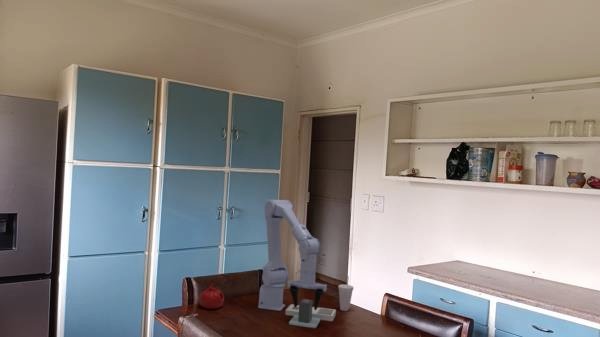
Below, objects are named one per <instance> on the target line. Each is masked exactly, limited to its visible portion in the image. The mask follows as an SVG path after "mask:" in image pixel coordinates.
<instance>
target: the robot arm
mask: <svg viewBox="0 0 600 337" xmlns="http://www.w3.org/2000/svg"><path fill="white" fill-rule="evenodd" d="M293 208H294V206H293V204H292V203H291V201H290V200H289V199H271V198H270V199H268V200H267V201H266V203H265V205H264V215H265V218H264V219H265V221H266V238H267V250H268V251H267V256H268V257H267V258H268V262H267V263H266V264H265V265H264V266H263V267H262V276H261V279H262V283H263V284H261V286H260V288H259V297H258V306H257V308H258V309H262V310H263V309H264V310H272V311H278V312H279V311H282V310H283V308H285V306H286V304H284V303H283V301H284V288H285V286H286V284H287V287H289V292H290V295H291V298H292V301H293V305H294V307H297V305H298V304H299V303H298V299H299V298H298V295H299V288H300V289H307V290H308V289H309V290H310V289H311V290H315V292H314V294H315V295H314V306H313V307H314V310H317V308H318V305H319V302H320V299H321V298H322V295H323V293H324V292H326V291H327V289H328V288H327V286H328V285H327V284H324V283H320V282H316V272H317V258H318V256H317V255H318V254H319V253H320V252H321V246H322V245H321V243H320V240H319V239H318V238H315V237H314V236H312V234H311V233H310V232H309V230H308V229H307V226H306V225H305V224H301V223H300V222H299V220H298V218H297V217H296V215H295V212H294V211H293ZM282 220H285V221H286V222H287V224H288V225H289V227H290V228H291V229H292V230H291V234H292V236H293V238H294V239H295V240H296V242H297V244H298V251H299V258H300V274H299V280H291V279H290V280H289V276H290V274H289V272H288V268H287V264H286V263H284V262H283V261H282V247H281V232H280V223H281V221H282Z"/></svg>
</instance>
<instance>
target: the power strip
mask: <svg viewBox="0 0 600 337" xmlns="http://www.w3.org/2000/svg"><path fill="white" fill-rule="evenodd" d="M336 314H337V309H332V308H325V307H317V310H314V306H312V317H313V318H320V321H328V322H334V319H335V317H336ZM285 315H286V316H291V317H294V315H298V316H299V304H297V307H294V304H292V303H291V304H290V305H288V307H286V309H285Z"/></svg>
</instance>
